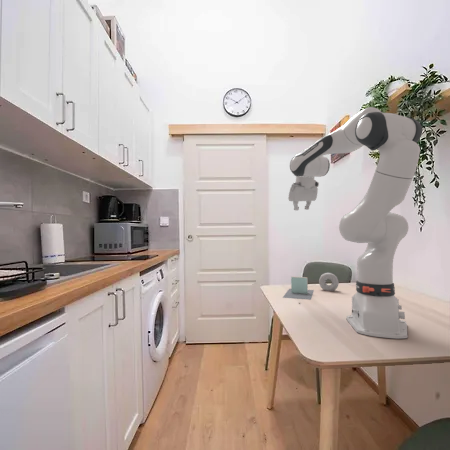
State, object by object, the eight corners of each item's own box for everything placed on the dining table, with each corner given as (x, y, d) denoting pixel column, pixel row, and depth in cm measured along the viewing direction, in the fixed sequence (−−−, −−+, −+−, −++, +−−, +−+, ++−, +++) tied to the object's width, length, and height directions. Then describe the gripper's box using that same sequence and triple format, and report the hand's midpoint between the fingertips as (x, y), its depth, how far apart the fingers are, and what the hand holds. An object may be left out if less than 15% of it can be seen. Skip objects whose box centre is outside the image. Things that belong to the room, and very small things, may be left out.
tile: (307, 293, 142) (307, 277, 142) (291, 292, 145) (291, 277, 145) (307, 293, 143) (307, 277, 144) (291, 291, 146) (291, 276, 146)
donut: (318, 291, 150) (318, 272, 151) (319, 289, 153) (319, 271, 154) (338, 293, 145) (338, 273, 146) (339, 291, 148) (339, 272, 149)
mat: (310, 300, 130) (310, 299, 130) (282, 298, 134) (282, 297, 134) (313, 291, 150) (313, 290, 150) (289, 289, 155) (289, 288, 155)
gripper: (297, 182, 132) (294, 211, 135) (320, 183, 145) (317, 209, 148) (286, 181, 137) (284, 209, 139) (310, 182, 150) (307, 208, 153)
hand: (301, 209), depth 144 cm, fingers open, 8 cm apart
